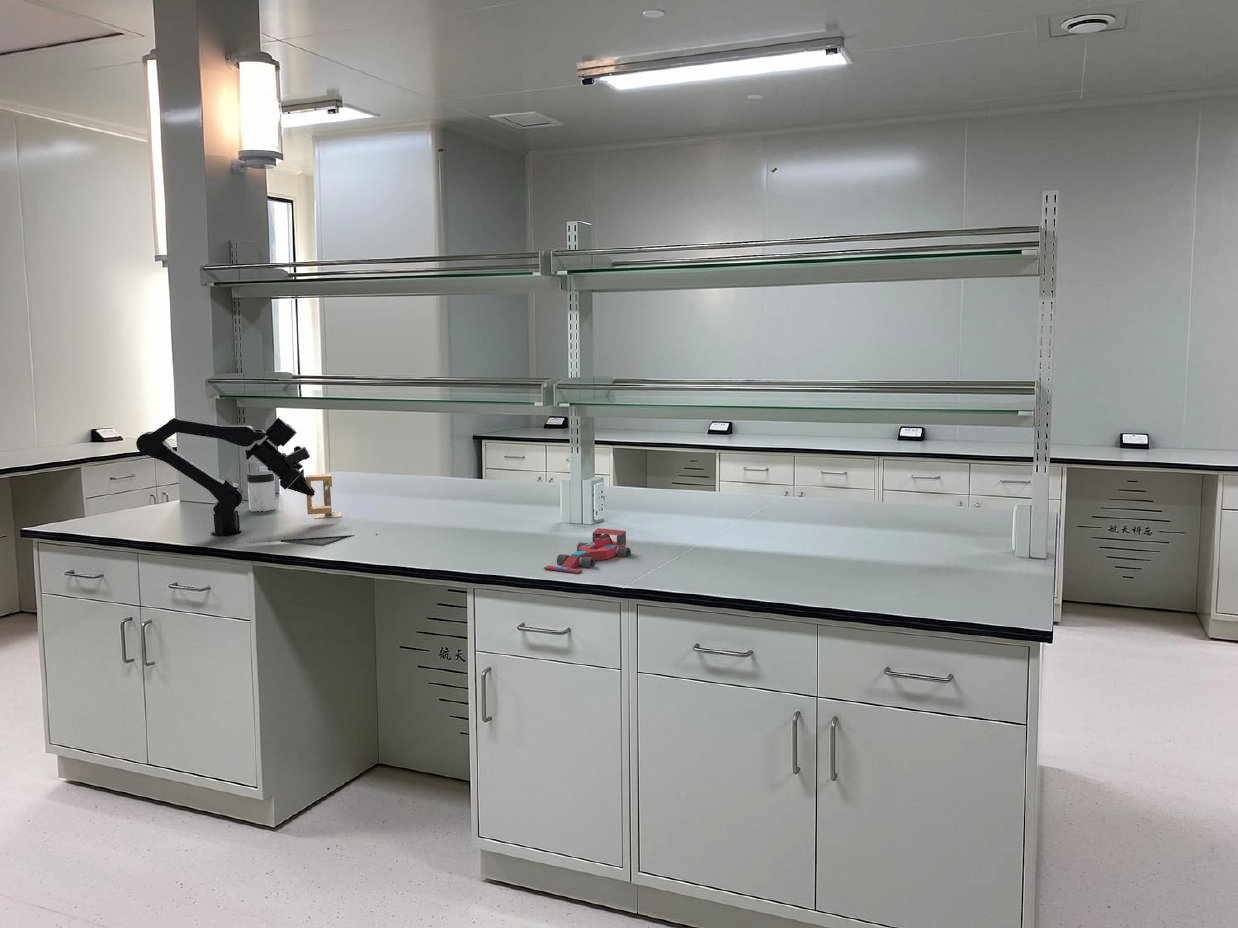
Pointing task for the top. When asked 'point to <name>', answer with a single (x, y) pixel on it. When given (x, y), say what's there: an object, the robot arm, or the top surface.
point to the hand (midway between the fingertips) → (313, 494)
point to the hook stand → (327, 503)
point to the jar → (261, 491)
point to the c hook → (309, 499)
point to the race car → (594, 551)
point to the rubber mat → (316, 540)
